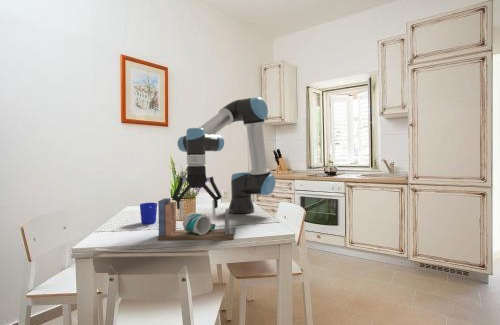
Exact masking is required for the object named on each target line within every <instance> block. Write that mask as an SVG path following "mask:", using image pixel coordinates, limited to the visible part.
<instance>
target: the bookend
mask: <svg viewBox="0 0 500 325" xmlns="http://www.w3.org/2000/svg"><path fill="white" fill-rule="evenodd" d="M224 229H225V235H234V236H235V235H236V232H237V231H236V230H237V228H236V227H230V212H229V208H226V209H225V211H224Z"/></svg>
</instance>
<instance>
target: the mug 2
mask: <svg viewBox="0 0 500 325" xmlns="http://www.w3.org/2000/svg"><path fill="white" fill-rule="evenodd" d="M182 226H183V230H186V231H187V232H190V233H193V234H197V235H205V234H206V233H207V232H208V231H209V230H214V229H215V228H216V224H215V223H212V222H211V220H210V217H209V216H207V215H206V214H201V213H196V212H191V213H190V212H189V213H188V214H186V215H185V217H184V218H183V222H182Z"/></svg>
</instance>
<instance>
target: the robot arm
mask: <svg viewBox="0 0 500 325" xmlns="http://www.w3.org/2000/svg"><path fill="white" fill-rule="evenodd" d="M267 105H268V104H267V103H266V101H265V100H264V99H263V98H262V97H258V96H256V97H253V96H252V97H249V98H243V99H241V98H240V99H236V100H233V101H231V102H229V103H228V104H226V105H225V106H223V107H222V108H220V110H218V112H217V114H215V115H214V116H213V117H211V118H210V119H209V120H207V121H206V122H204V124H202V125H201V126H199V127H190V128H187V129H186V135H183V136H180V137H179V138H178V139H177V147H178V149H179V150H180V151H181V152H184V153H186V164H187V168H186V169H187V170H186V171H187V172H186V173H187V176H186V177H182V176H181V177H180V178H179V182H178V185H177V187H176V189H175V191H174V194H173V195H172V198H171V199H172V201H174V202H176V210H179V218H183V217H184V205H183V204H184V201H183V200H182V199H183V198H184V196H185V195H186V194H187V193H188V191H189V190H190V189H191V188H192V189H196V188H197V189H201V188H202V189H204V190H205V192H206V193H207V194H209V196H210V197H211V198H212V201H211V202H212V203H211V204H212V205H211V206H212V217H213V218H214V217H216V209H218V207H219V206H218V201H219V200H221V199H222V196H223V195H222V194H221V192H220V190H219V188H218V186H217V185H216V183H215V180H214V179H215V178H214V176H209V177H207V174H206V172H207V171H206V166H205V165H206V152H220V151H222V150H223V149H224V146H225V140H224V138H223V136H222V135H220V134H217V133H218V132H220V131H221V130H222V129H224V128H225V127H226V126H231V124H232V123H235V122H242V123H243V125H244V127H246V132H247V141H248V150H249V157H250V164H251V170H250V171H244V172H235V173H233V174H231V180H230V181H231V182H230V184H231V187H230V188H231V190H230V191H231V200H230V202H229V206H228V209H229V213H231V214H249V213H250V214H251V213H255V207H254V203H253V199H252V195H257V196H270V195H271V194H272V193H273V191H274V189H275V187H276V178H275V175H274V174H271V170H270V169H269V168H268V164H267V163H268V162H267V155H266V146H265V145H266V144H265V138H264V128H263V125H264V123H265V122H266V121H265V119H267V118H268V114H269V109H268V106H267ZM207 181H208V182H209V183H210V185H211V187H212V189H213V190H211V189H210V187H208V185H207V184H206V182H207ZM186 182H187V184H188V185H187V186H186V187H185V188H184V190H183V191H182V192H181V194H180V191H181V190H182V187H183V185H184V184H185V183H186ZM213 191H214V192H215V193H214V192H213ZM215 194H216V195H215Z"/></svg>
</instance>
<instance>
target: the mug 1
mask: <svg viewBox="0 0 500 325" xmlns="http://www.w3.org/2000/svg"><path fill="white" fill-rule="evenodd" d="M139 210H140V211H139V212H140V221H141V224H142V225H153V224H156V222H157V214H158V213H157V212H158V203H157V202H142V203H140V204H139Z"/></svg>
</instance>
